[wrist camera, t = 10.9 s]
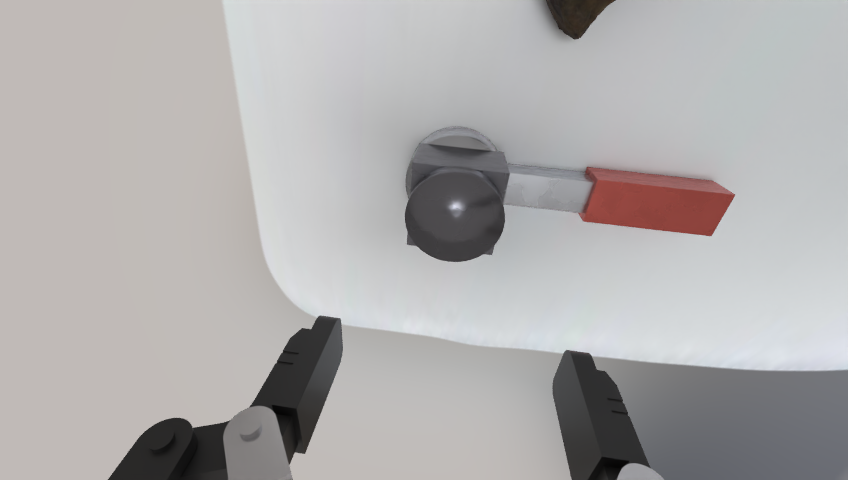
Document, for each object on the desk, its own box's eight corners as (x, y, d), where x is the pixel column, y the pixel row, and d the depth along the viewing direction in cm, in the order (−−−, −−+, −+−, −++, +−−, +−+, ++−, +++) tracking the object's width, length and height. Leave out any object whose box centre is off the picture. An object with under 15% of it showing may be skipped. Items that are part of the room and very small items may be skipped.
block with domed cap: (505, 150, 24) (514, 179, 19) (489, 226, 27) (494, 266, 22) (418, 141, 24) (407, 167, 20) (412, 217, 27) (402, 255, 23)
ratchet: (726, 155, 25) (794, 188, 20) (680, 240, 28) (728, 288, 23) (413, 121, 26) (400, 145, 21) (407, 208, 29) (395, 247, 24)
